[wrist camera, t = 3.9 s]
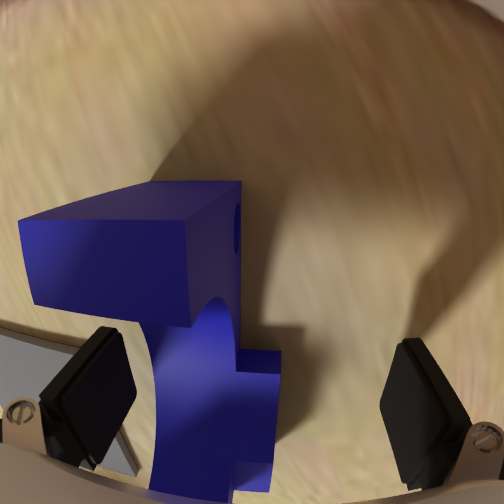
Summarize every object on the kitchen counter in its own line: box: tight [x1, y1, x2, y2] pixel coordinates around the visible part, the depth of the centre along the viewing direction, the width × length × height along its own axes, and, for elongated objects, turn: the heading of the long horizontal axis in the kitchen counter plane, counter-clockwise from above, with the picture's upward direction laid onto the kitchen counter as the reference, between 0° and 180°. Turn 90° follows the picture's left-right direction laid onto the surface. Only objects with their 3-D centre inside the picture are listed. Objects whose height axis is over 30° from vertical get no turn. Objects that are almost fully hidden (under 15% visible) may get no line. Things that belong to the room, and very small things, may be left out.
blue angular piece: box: [18, 181, 281, 504], centre depth 8 cm, size 12×4×6 cm, turn 179°
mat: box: [0, 327, 139, 477], centre depth 13 cm, size 11×10×1 cm
